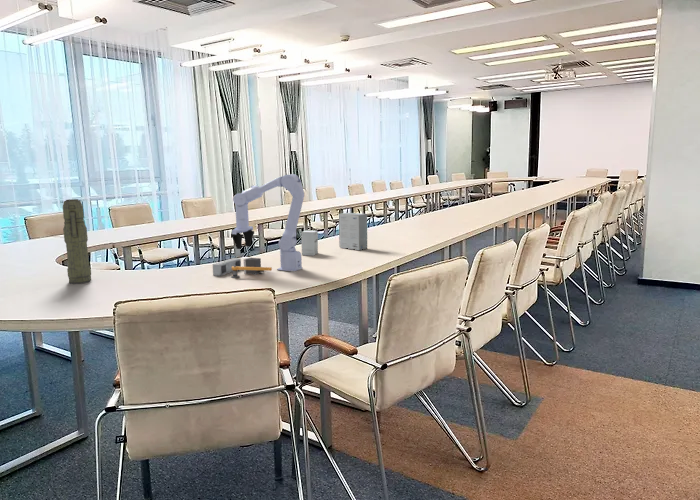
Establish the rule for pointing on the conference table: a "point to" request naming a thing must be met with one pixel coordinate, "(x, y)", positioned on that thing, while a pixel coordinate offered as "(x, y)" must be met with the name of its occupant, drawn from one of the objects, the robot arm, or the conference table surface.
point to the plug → (252, 265)
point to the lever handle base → (235, 274)
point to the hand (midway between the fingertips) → (243, 247)
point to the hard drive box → (353, 231)
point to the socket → (225, 266)
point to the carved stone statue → (76, 242)
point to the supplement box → (309, 242)
